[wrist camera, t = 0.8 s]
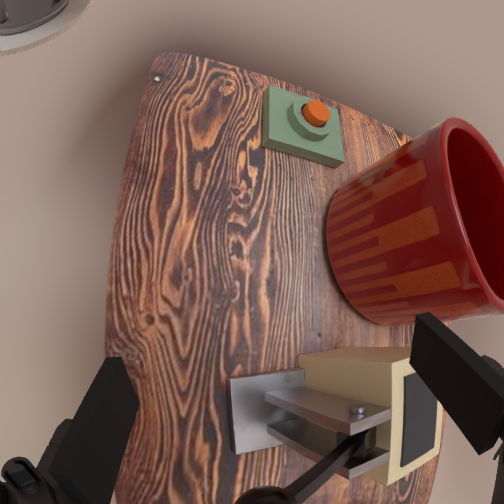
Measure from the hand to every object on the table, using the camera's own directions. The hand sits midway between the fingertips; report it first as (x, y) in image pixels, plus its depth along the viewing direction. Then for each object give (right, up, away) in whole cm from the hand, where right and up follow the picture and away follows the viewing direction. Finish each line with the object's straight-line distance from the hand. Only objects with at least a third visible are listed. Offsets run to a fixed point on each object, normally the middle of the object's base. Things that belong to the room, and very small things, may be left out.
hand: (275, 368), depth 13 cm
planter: (+18, +5, +32) cm, 38 cm away
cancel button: (+7, +24, +28) cm, 37 cm away
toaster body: (+8, -13, +23) cm, 28 cm away
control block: (+6, +23, +31) cm, 39 cm away
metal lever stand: (+2, -13, +21) cm, 25 cm away
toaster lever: (+2, -10, +5) cm, 11 cm away
